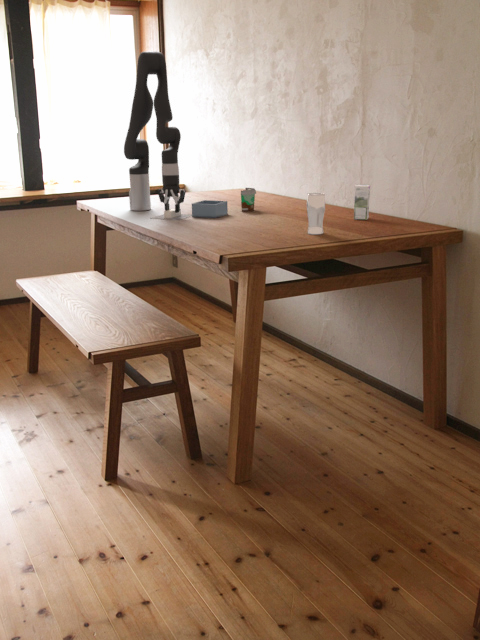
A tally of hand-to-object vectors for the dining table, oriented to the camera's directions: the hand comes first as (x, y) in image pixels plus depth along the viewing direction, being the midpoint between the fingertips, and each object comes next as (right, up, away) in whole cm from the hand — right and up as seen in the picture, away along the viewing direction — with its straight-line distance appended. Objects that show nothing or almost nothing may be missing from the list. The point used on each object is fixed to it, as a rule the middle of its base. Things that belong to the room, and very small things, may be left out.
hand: (172, 211), depth 290 cm
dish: (+17, -1, +1) cm, 17 cm away
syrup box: (+83, -6, -15) cm, 84 cm away
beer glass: (+60, -16, -45) cm, 76 cm away
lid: (0, -3, +1) cm, 3 cm away
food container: (+35, +3, +14) cm, 38 cm away
